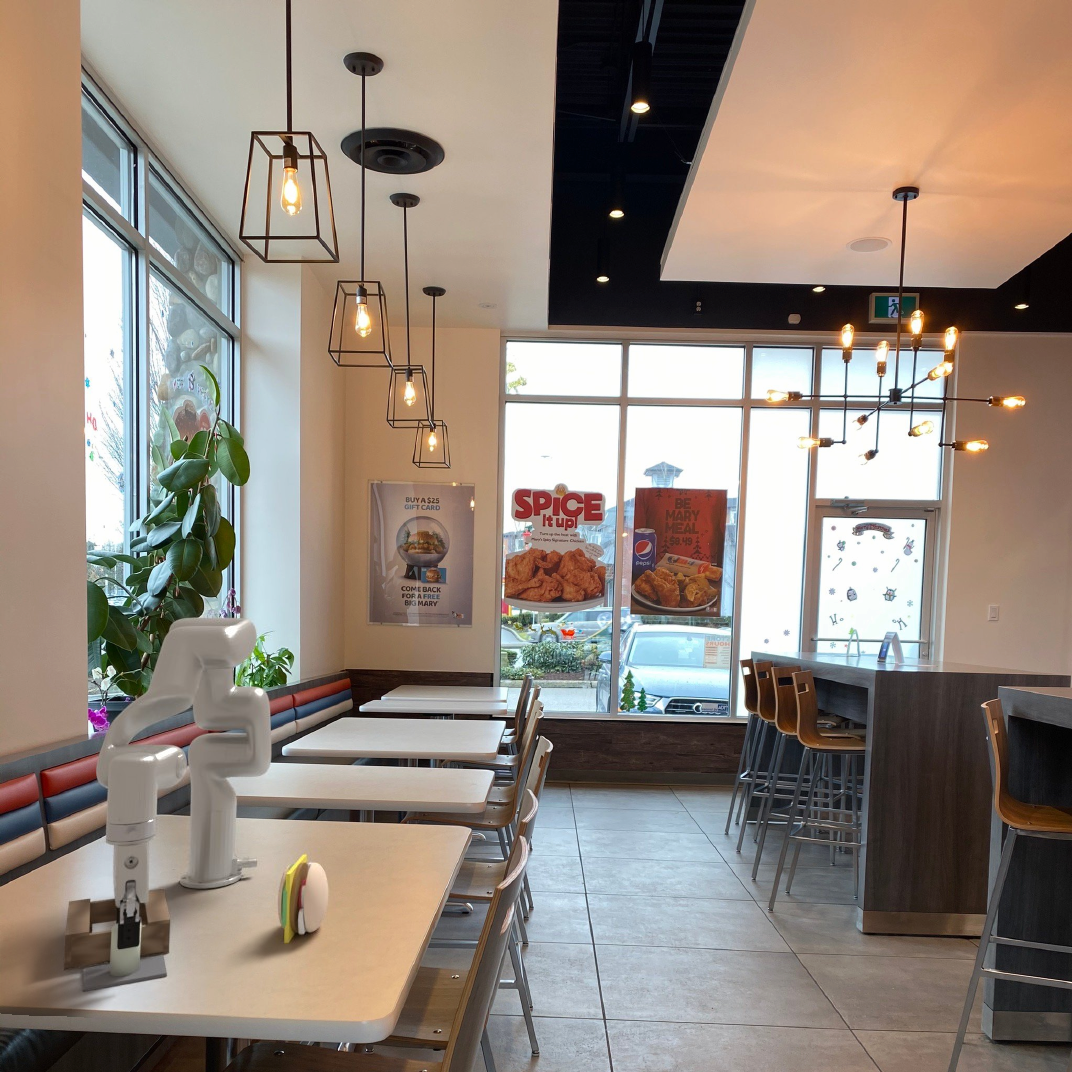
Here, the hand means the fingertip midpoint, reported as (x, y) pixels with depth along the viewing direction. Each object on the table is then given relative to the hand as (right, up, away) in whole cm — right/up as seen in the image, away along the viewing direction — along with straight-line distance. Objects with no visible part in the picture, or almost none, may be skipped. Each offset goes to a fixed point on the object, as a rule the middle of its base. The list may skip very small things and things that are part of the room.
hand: (127, 936), depth 139 cm
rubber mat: (0, -6, -1) cm, 6 cm away
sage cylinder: (0, -5, -1) cm, 5 cm away
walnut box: (-8, -7, +12) cm, 16 cm away
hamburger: (+24, -8, +18) cm, 31 cm away
